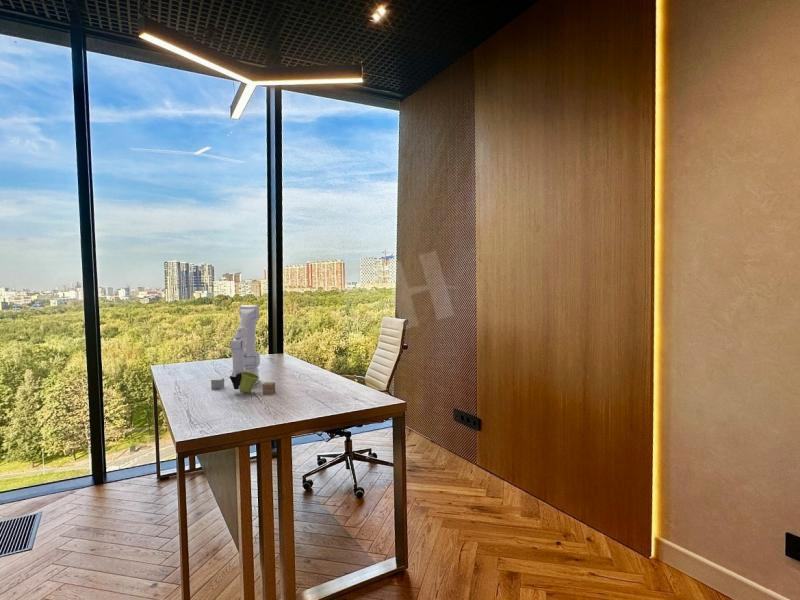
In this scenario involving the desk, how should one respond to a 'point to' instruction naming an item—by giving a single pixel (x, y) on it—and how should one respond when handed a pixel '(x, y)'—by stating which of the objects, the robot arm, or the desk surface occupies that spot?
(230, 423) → the desk surface
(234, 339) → the robot arm
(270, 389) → the walnut block
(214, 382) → the slate block
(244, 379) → the plant pot
